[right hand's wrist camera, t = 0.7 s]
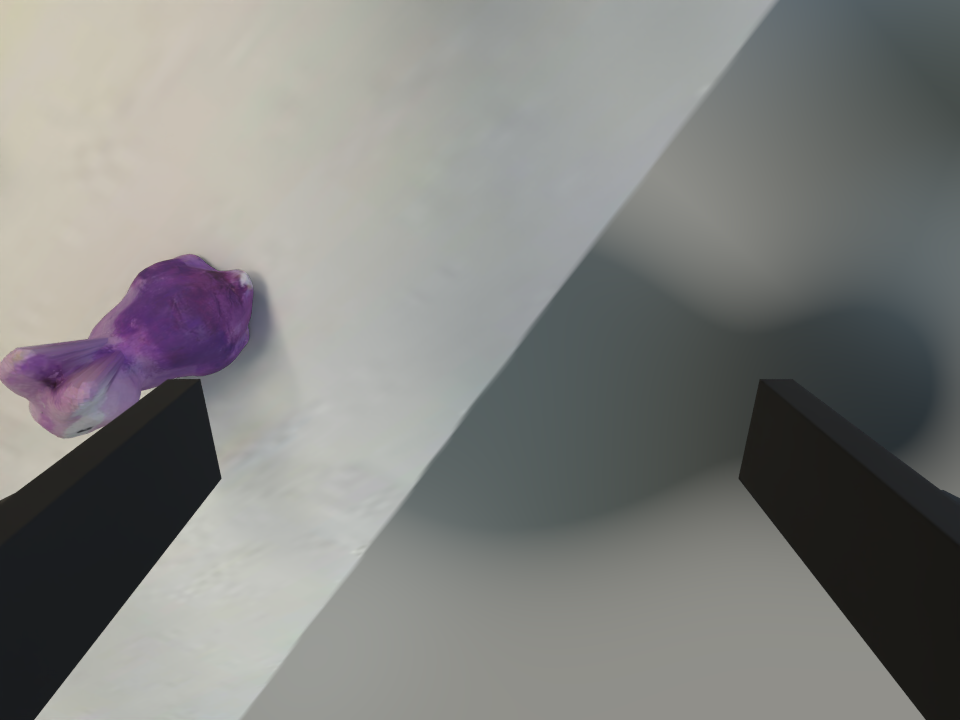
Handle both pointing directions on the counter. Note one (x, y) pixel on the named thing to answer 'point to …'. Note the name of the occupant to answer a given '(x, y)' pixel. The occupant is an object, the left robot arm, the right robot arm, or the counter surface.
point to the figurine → (136, 346)
